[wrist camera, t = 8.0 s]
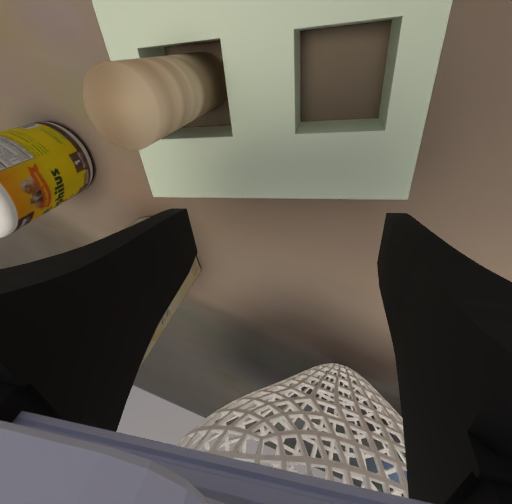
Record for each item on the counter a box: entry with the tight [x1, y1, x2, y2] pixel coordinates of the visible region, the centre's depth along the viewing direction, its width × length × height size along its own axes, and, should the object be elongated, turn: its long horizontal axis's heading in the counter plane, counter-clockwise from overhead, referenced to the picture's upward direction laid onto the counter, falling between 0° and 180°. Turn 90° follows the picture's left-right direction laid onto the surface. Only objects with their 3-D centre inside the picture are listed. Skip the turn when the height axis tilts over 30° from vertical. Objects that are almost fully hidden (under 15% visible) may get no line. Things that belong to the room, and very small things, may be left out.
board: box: [92, 0, 453, 200], centre depth 16 cm, size 16×12×3 cm
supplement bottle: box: [0, 122, 93, 238], centre depth 19 cm, size 6×6×10 cm
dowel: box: [83, 52, 227, 151], centre depth 14 cm, size 3×3×9 cm
